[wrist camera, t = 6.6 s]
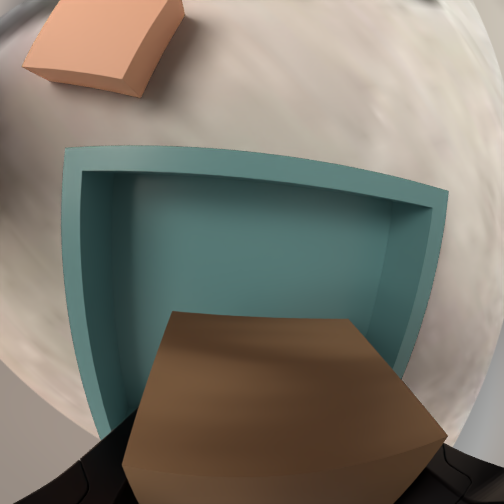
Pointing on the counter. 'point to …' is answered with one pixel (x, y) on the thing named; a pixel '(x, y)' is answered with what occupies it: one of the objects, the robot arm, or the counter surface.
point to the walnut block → (274, 416)
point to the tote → (234, 253)
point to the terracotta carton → (105, 43)
